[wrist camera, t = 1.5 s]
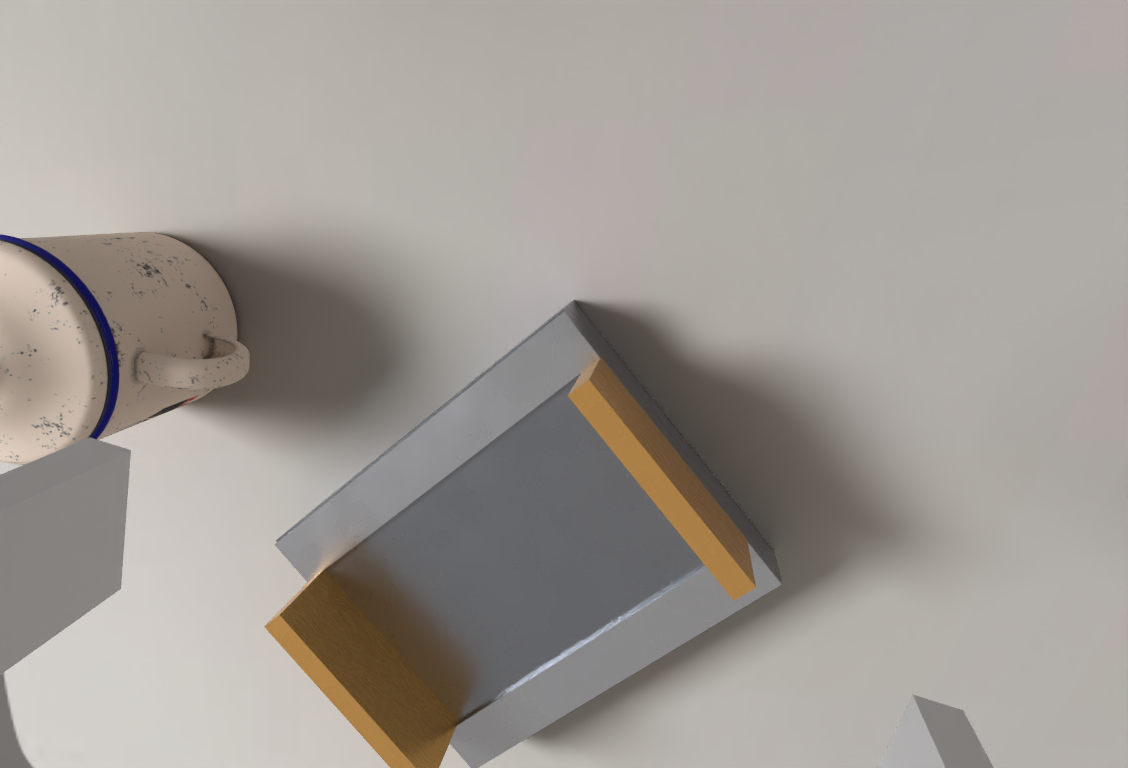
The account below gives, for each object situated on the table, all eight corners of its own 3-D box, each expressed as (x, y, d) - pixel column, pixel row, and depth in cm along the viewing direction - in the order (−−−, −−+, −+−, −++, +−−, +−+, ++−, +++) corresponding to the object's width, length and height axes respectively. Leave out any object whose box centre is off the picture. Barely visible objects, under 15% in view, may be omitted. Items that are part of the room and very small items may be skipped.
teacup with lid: (81, 388, 38) (-171, 466, 27) (78, 212, 35) (-202, 216, 24) (295, 434, 36) (123, 537, 25) (307, 254, 34) (123, 280, 23)
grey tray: (307, 514, 37) (225, 582, 31) (573, 299, 32) (545, 325, 26) (491, 726, 39) (451, 835, 32) (773, 551, 34) (796, 637, 27)
